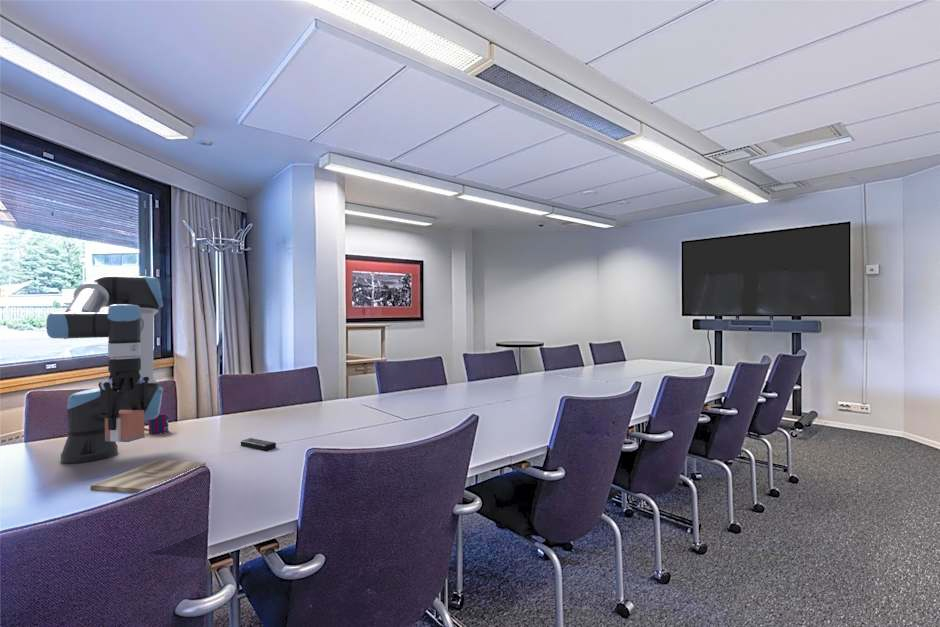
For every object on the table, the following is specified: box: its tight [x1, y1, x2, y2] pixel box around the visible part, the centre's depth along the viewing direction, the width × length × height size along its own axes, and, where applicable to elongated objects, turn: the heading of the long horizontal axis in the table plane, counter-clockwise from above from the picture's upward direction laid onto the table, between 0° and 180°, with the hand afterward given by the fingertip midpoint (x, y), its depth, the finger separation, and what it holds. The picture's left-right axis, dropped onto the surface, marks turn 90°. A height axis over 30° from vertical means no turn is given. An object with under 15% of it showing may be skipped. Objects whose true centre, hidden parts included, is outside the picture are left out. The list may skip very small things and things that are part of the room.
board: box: [90, 459, 207, 494], centre depth 135 cm, size 18×22×1 cm
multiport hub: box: [240, 437, 277, 452], centre depth 166 cm, size 4×14×2 cm, turn 62°
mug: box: [144, 414, 169, 435], centre depth 187 cm, size 7×10×7 cm
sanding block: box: [105, 410, 145, 443], centre depth 129 cm, size 8×5×8 cm, turn 79°
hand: (125, 438), depth 129 cm, fingers closed on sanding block, 5 cm apart
